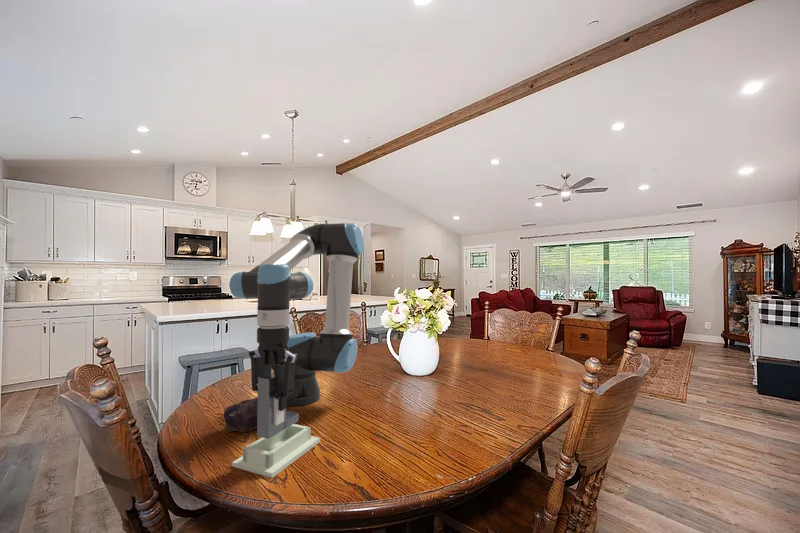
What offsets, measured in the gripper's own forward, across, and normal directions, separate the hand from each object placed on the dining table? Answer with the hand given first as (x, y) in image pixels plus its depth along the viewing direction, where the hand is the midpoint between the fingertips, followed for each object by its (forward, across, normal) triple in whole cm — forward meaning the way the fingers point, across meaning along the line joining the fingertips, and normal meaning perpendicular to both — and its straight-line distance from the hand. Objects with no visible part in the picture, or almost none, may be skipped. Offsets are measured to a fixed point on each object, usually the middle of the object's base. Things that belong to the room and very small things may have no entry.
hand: (272, 421), depth 86 cm
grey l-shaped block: (+3, 0, +2) cm, 4 cm away
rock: (+9, -18, +10) cm, 23 cm away
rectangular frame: (+9, 0, +3) cm, 9 cm away
